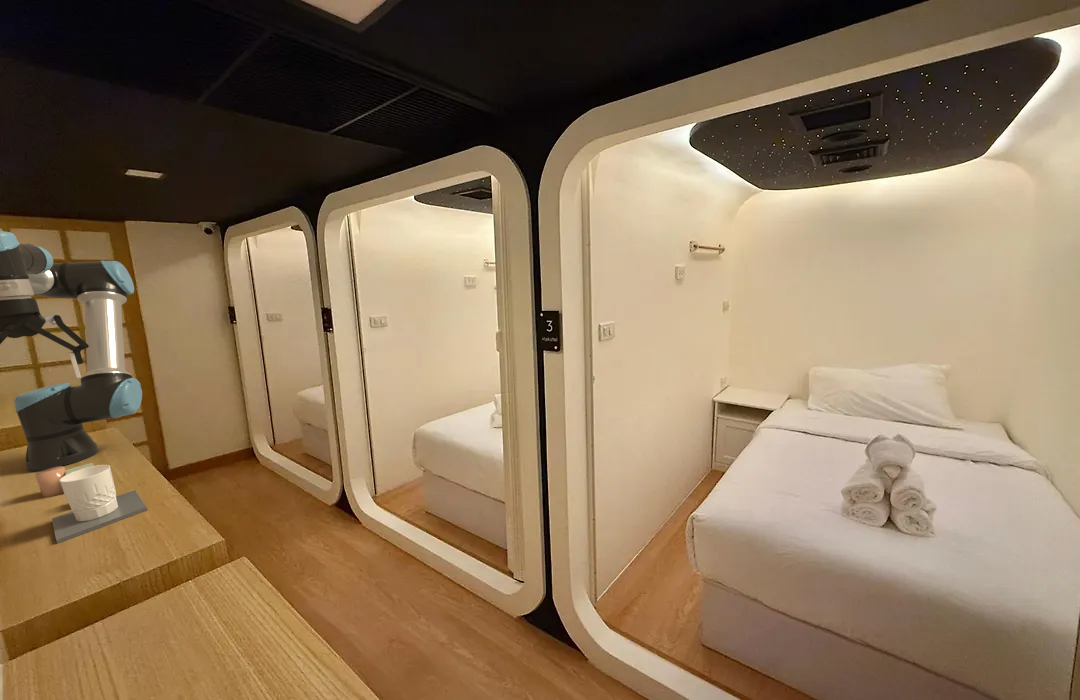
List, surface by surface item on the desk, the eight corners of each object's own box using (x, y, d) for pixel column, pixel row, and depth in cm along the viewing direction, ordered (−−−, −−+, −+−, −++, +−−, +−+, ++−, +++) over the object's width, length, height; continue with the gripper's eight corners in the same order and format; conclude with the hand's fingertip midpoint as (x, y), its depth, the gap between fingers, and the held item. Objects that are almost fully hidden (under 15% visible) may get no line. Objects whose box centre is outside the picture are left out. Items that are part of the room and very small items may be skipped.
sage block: (71, 487, 112) (65, 470, 111) (97, 479, 116) (92, 462, 115) (71, 493, 109) (65, 475, 108) (98, 484, 113) (93, 467, 112)
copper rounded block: (53, 488, 112) (46, 468, 111) (76, 485, 113) (69, 464, 112) (36, 498, 107) (29, 477, 106) (60, 495, 108) (53, 473, 107)
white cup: (72, 515, 96) (59, 475, 94) (120, 499, 102) (108, 461, 100) (73, 528, 91) (58, 485, 89) (123, 510, 97) (111, 470, 95)
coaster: (52, 521, 96) (51, 518, 96) (135, 493, 106) (135, 490, 106) (57, 543, 87) (56, 540, 87) (147, 510, 98) (146, 506, 98)
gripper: (-82, 305, 89) (-46, 401, 93) (87, 293, 108) (111, 373, 112) (-78, 305, 94) (-44, 396, 98) (84, 293, 113) (106, 370, 117)
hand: (39, 384), depth 105 cm, fingers open, 13 cm apart
